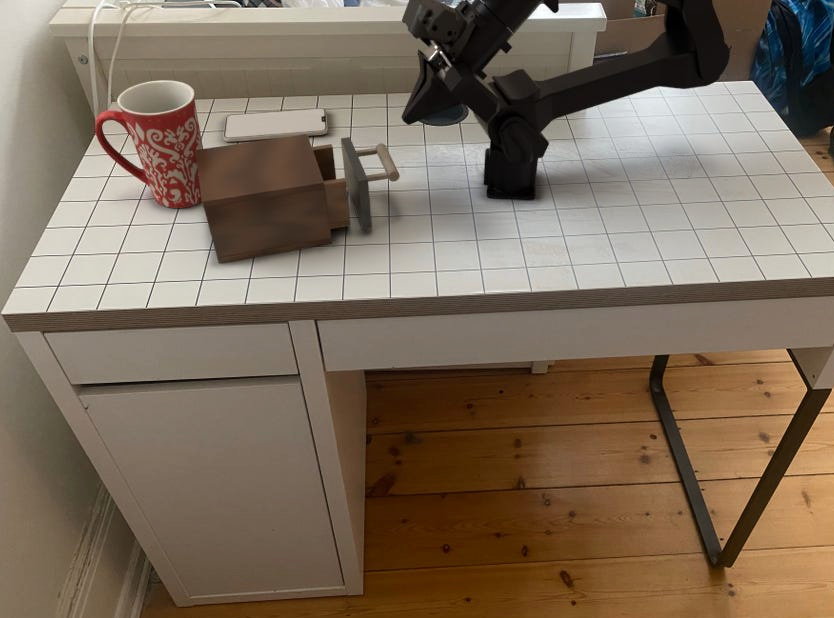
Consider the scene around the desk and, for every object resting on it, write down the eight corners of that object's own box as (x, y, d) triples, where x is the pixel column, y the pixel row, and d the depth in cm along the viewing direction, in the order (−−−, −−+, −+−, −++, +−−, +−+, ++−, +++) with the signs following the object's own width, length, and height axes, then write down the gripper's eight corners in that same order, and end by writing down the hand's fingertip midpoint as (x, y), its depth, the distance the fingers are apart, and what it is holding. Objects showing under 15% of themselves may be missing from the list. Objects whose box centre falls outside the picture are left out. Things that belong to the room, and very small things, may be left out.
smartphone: (225, 114, 113) (325, 107, 115) (226, 118, 114) (326, 111, 115) (222, 139, 108) (327, 130, 109) (223, 143, 108) (328, 135, 110)
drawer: (385, 178, 100) (382, 132, 96) (405, 221, 93) (402, 173, 89) (259, 198, 97) (249, 151, 92) (270, 245, 90) (260, 196, 85)
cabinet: (315, 193, 99) (307, 133, 93) (332, 243, 92) (324, 182, 86) (210, 210, 97) (195, 149, 91) (218, 263, 89) (201, 201, 83)
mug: (221, 172, 103) (198, 77, 93) (215, 210, 97) (190, 111, 87) (126, 178, 102) (93, 82, 92) (114, 217, 95) (77, 118, 86)
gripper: (422, -61, 85) (337, 48, 91) (474, -2, 73) (372, 120, 78) (485, 3, 92) (403, 101, 98) (543, 67, 80) (444, 174, 85)
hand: (404, 121), depth 90 cm, fingers closed
